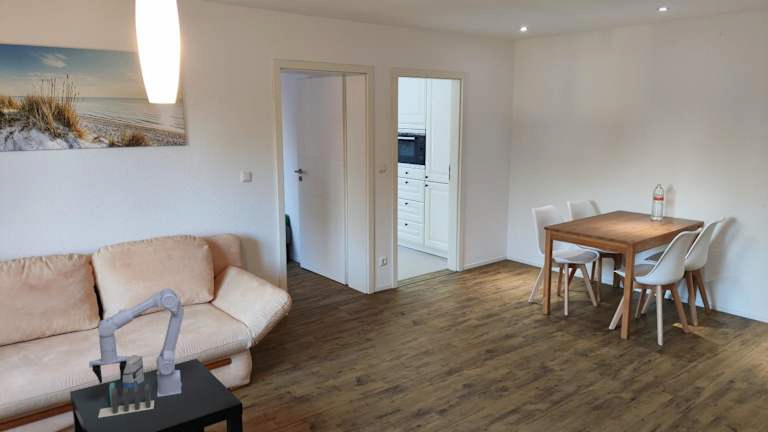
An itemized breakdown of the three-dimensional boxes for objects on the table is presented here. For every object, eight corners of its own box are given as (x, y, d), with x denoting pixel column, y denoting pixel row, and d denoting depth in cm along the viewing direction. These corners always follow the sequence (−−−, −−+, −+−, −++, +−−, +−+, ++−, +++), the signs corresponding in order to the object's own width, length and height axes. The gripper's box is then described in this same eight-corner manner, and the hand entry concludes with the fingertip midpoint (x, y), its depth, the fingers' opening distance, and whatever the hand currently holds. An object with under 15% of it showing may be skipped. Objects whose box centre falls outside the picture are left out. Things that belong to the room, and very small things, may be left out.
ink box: (132, 389, 241) (130, 363, 239) (122, 388, 242) (120, 362, 240) (144, 380, 250) (142, 355, 248) (134, 379, 250) (132, 354, 249)
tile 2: (118, 407, 225) (117, 388, 224) (117, 413, 221) (115, 394, 219) (114, 407, 225) (112, 389, 224) (113, 413, 220) (111, 394, 219)
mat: (154, 400, 231) (154, 400, 231) (153, 408, 224) (153, 408, 224) (100, 409, 224) (100, 409, 224) (98, 418, 218) (98, 417, 217)
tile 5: (150, 402, 229) (149, 383, 228) (150, 407, 225) (148, 389, 223) (146, 402, 229) (145, 384, 228) (146, 408, 224) (144, 389, 223)
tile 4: (140, 403, 228) (138, 385, 227) (139, 409, 223) (138, 390, 222) (136, 404, 228) (134, 386, 226) (135, 410, 223) (133, 391, 222)
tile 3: (129, 405, 227) (128, 387, 225) (128, 411, 222) (126, 392, 221) (125, 406, 226) (123, 387, 225) (124, 412, 222) (122, 393, 220)
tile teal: (116, 400, 231) (114, 382, 230) (115, 406, 227) (113, 387, 225) (112, 401, 231) (110, 383, 230) (110, 406, 226) (109, 388, 225)
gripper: (128, 343, 231) (131, 373, 233) (89, 348, 226) (92, 379, 229) (127, 349, 225) (130, 381, 227) (87, 354, 220) (90, 387, 222)
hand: (111, 380), depth 227 cm, fingers open, 7 cm apart
